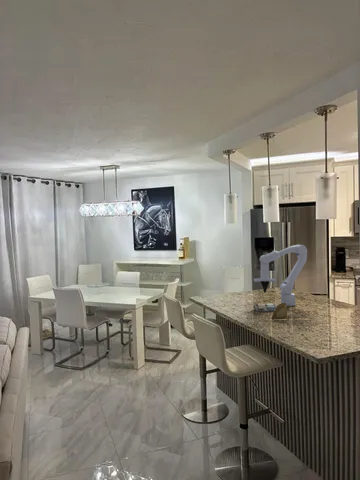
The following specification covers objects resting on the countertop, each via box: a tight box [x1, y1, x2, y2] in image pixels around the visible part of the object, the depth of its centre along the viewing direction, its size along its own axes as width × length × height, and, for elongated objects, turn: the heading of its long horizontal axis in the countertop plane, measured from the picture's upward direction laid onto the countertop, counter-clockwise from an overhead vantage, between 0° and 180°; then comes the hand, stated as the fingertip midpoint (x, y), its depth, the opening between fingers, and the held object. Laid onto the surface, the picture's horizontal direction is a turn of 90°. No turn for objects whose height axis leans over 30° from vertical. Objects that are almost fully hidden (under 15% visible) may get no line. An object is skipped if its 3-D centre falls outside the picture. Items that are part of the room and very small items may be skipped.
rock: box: [271, 302, 288, 321], centre depth 218 cm, size 11×9×10 cm
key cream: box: [257, 303, 266, 309], centre depth 236 cm, size 4×4×2 cm
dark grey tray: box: [253, 303, 277, 313], centre depth 239 cm, size 14×18×2 cm
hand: (264, 292), depth 248 cm, fingers closed
